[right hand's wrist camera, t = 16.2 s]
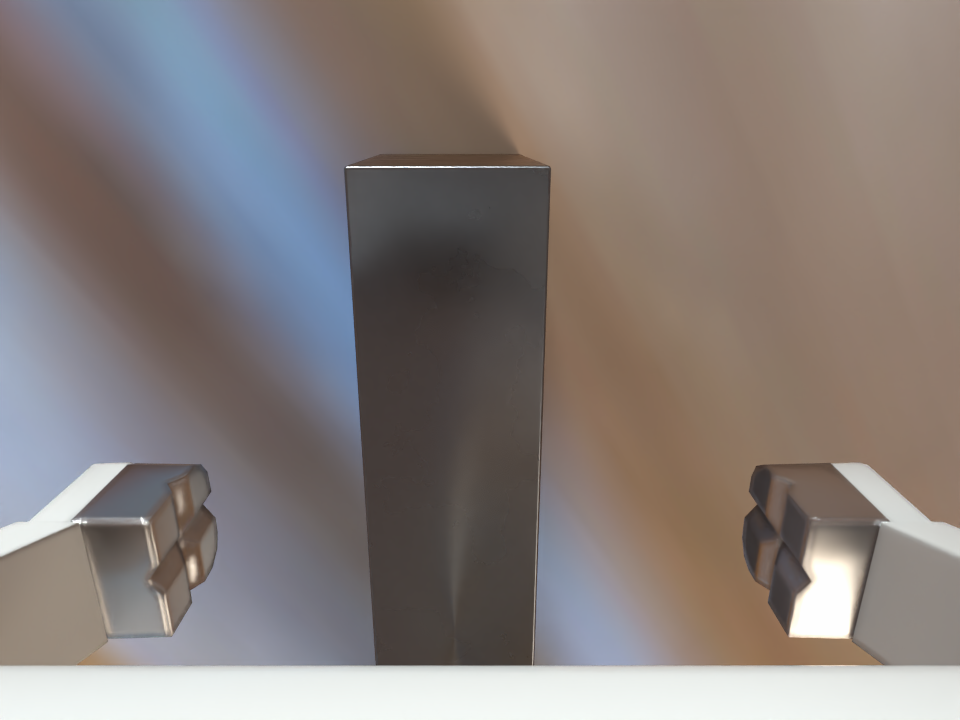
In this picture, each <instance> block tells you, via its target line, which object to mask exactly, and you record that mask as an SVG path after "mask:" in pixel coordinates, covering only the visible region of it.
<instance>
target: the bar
mask: <svg viewBox="0 0 960 720" xmlns="http://www.w3.org/2000/svg"><path fill="white" fill-rule="evenodd" d="M344 174H345V190H346V206H347V221H348V237H349V253H350V269H351V284H352V300H353V316H354V331H355V347H356V363H357V378H358V394H359V410H360V426H361V441H362V457H363V473H364V488H365V504H366V520H367V535H368V551H369V567H370V583H371V598H372V614H373V630H374V645H375V661H376V666H534V651H535V622H536V592H537V563H538V534H539V504H540V475H541V445H542V416H543V387H544V357H545V328H546V298H547V269H548V239H549V210H550V181H551V168H550V166H547V165H545V164H542V163H540V162H537V161H535V160H532V159H530V158H527V157H525V156H522V155H520V154H380V155H377V156H374V157H372V158H369V159H366V160H363V161H360V162H357V163H354V164H351V165H348V166H346V167H345V168H344Z"/></svg>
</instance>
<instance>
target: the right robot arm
mask: <svg viewBox="0 0 960 720" xmlns="http://www.w3.org/2000/svg"><path fill="white" fill-rule="evenodd" d="M210 492H211V488H210V483H209V478H208V473H207V471H206V470H205V469H204V467H203V466H202V465H201V464H148V463H135V464H133V463H131V462H130V463H101V464H93V465H92V466H91V467H89V468H88V469H87V470H86V471H85V472H84V473H83V474H82V475H80V476H79V477H78V478H77V479H76V480H75V481H74V482H73V483H71V484H70V485H69V486H68V487H67V488H66V489H65V490H64V491H62V492H61V493H60V494H59V495H58V496H57V497H56V498H55V499H53V500H52V501H51V502H50V503H49V504H48V505H47V506H46V507H44V508H43V509H42V510H41V511H40V512H39V513H38V514H37V515H35V516H34V517H33V518H32V519H31V520H30V521H29V522H15V523H13V524H10V525H8V526H5V527H3V528H0V720H960V528H957V527H955V526H952V525H950V524H947V523H945V522H931V521H930V520H929V519H928V518H927V517H926V516H925V515H924V514H922V513H921V512H920V511H919V510H918V509H917V508H916V507H915V506H913V505H912V504H911V503H910V502H909V501H908V500H907V499H906V498H904V497H903V496H902V495H901V494H900V493H899V492H898V491H897V490H895V489H894V488H893V487H892V486H891V485H890V484H889V483H888V482H887V481H885V480H884V479H883V478H882V477H881V476H880V475H879V474H878V473H876V472H875V471H874V470H873V469H872V468H871V467H870V466H869V465H866V464H863V463H859V462H855V463H833V464H831V463H814V464H772V465H760V466H756V468H755V470H754V472H753V474H752V476H751V482H750V488H749V492H750V494H751V496H752V497H753V499H754V500H755V502H756V503H757V505H756V506H755V507H754V508H753V509H752V510H751V512H750V513H749V514H748V515H747V516H746V517H745V519H744V527H743V536H742V540H743V549H744V557H745V560H746V563H747V566H748V569H749V571H750V573H751V575H752V576H753V578H754V580H755V581H756V582H757V583H759V584H761V585H762V586H764V587H765V588H767V589H769V590H770V593H769V599H768V604H769V605H770V607H771V609H772V610H773V612H774V614H775V615H776V617H777V619H778V620H779V622H780V624H781V625H782V627H783V629H784V630H785V632H786V634H787V635H788V637H809V638H846V639H852V642H854V643H855V644H856V645H858V646H859V647H860V648H862V649H863V650H864V651H866V652H867V653H868V654H870V655H871V656H872V657H874V658H875V659H876V660H878V661H879V662H880V663H882V664H883V665H757V666H76V665H77V664H78V663H80V662H81V661H82V660H84V659H85V658H87V657H88V656H89V655H91V654H92V653H93V652H95V651H96V650H97V649H99V648H100V647H101V646H103V645H104V644H105V643H107V642H108V640H107V639H114V638H149V637H172V635H173V634H174V632H175V630H176V629H177V627H178V625H179V624H180V622H181V620H182V619H183V617H184V615H185V614H186V612H187V610H188V609H189V607H190V605H191V604H192V599H191V593H190V590H191V589H193V588H195V587H196V586H198V585H199V584H201V583H203V582H204V581H205V580H206V578H207V576H208V574H209V573H210V571H211V569H212V567H213V563H214V559H215V555H216V551H217V526H216V519H215V517H214V516H213V515H212V514H211V513H210V512H209V510H208V509H207V508H206V507H205V506H204V505H203V503H204V502H205V500H206V499H207V497H208V496H209V494H210Z"/></svg>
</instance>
